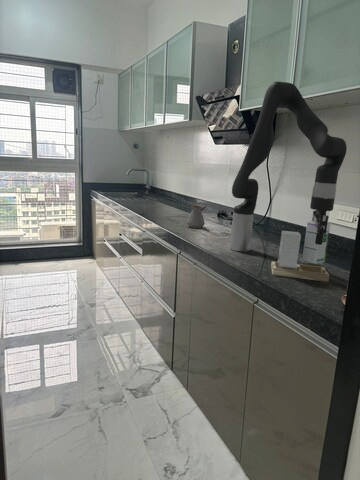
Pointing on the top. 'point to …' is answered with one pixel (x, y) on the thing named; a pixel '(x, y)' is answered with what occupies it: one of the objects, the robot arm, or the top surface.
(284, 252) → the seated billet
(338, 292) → the top surface
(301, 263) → the dark grey square block
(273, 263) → the wooden tray
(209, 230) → the top surface
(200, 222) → the coffee pot
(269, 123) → the robot arm
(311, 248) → the syrup box
